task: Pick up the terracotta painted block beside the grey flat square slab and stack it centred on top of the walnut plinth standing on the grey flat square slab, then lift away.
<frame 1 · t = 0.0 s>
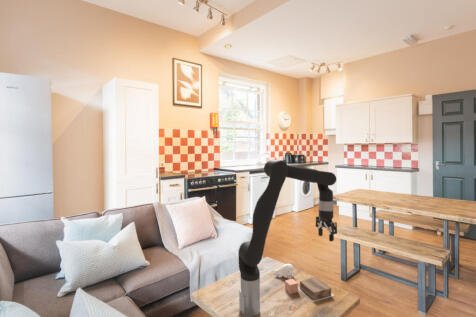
hand: (325, 238, 141), 29 cm above the table, fingers open, 8 cm apart
walnut plinth: (315, 291, 140), point 1 cm above the table, touching grey flat square slab
terracotta block: (291, 292, 142), on the table
grey flat square slab: (315, 293, 140), on the table
white speckled wedge: (283, 278, 158), on the table
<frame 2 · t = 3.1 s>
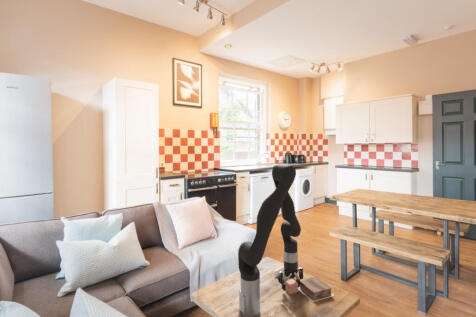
hand: (290, 288, 141), 2 cm above the table, fingers open, 8 cm apart
walnut plinth: (315, 291, 140), point 1 cm above the table, touching grey flat square slab, gripper
everything else where it was.
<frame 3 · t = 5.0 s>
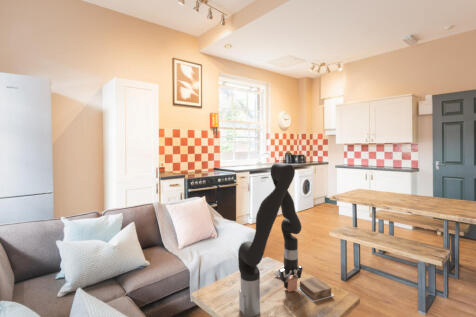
hand: (290, 286, 142), 3 cm above the table, fingers closed on terracotta block, 5 cm apart
walnut plinth: (315, 291, 140), point 1 cm above the table, touching grey flat square slab
terracotta block: (290, 288, 142), point 2 cm above the table, touching gripper
everything else where it was.
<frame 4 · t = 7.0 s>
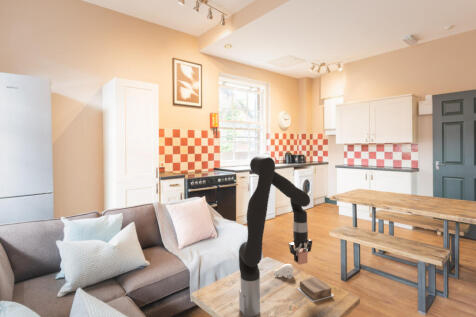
hand: (300, 260, 141), 18 cm above the table, fingers closed on terracotta block, 5 cm apart
terracotta block: (300, 261, 141), point 17 cm above the table, touching gripper
everything else where it was.
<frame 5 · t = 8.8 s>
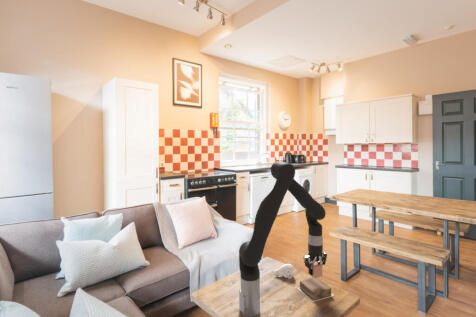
hand: (315, 273, 140), 11 cm above the table, fingers closed on terracotta block, 5 cm apart
terracotta block: (315, 275, 140), point 10 cm above the table, touching gripper
everything else where it was.
when the fingers open (7 cm above the table, at t = 10.4 s): terracotta block drops 1 cm, resting on walnut plinth.
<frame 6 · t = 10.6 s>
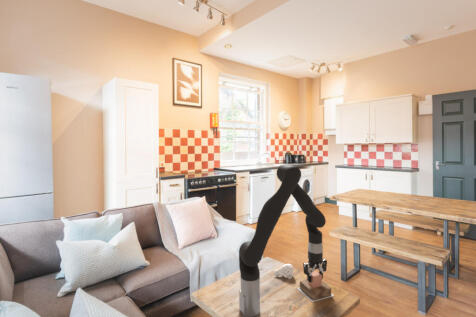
hand: (315, 280, 140), 7 cm above the table, fingers open, 6 cm apart
walnut plinth: (315, 291, 140), point 1 cm above the table, touching grey flat square slab, terracotta block
terracotta block: (314, 284, 140), point 5 cm above the table, touching walnut plinth
everything else where it was.
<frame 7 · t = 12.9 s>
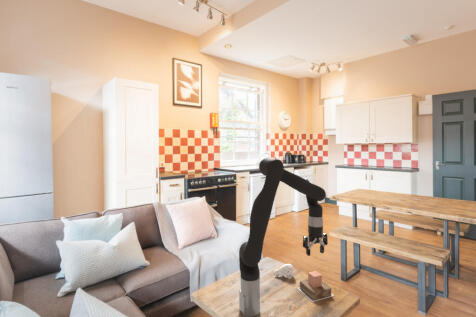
hand: (315, 254, 139), 22 cm above the table, fingers open, 8 cm apart
nothing on the table moved.
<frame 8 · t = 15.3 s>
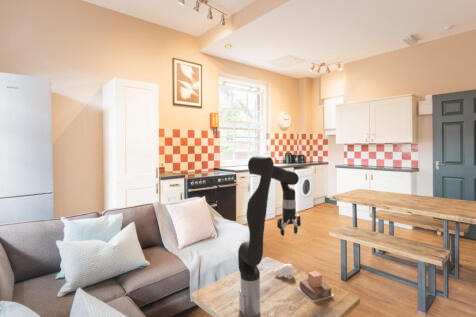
hand: (289, 234, 152), 28 cm above the table, fingers open, 8 cm apart
nothing on the table moved.
at the end: terracotta block 0.1 cm off-centre on the walnut plinth, point 4.0 cm above the walnut plinth's base; terracotta block tilted 0°; walnut plinth moved 0.0 cm from its start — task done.
